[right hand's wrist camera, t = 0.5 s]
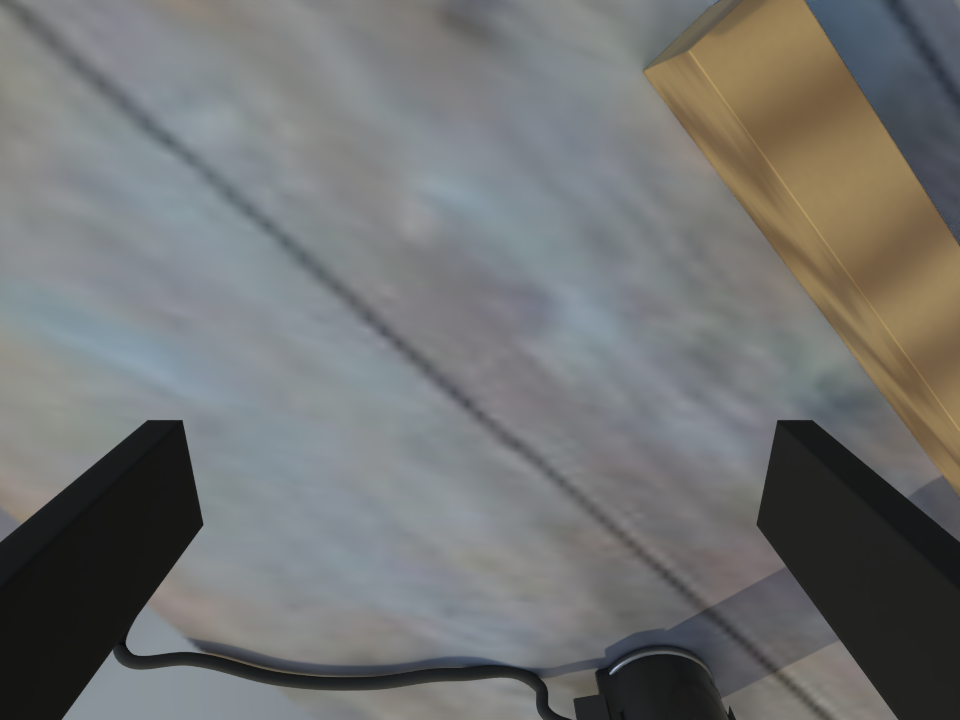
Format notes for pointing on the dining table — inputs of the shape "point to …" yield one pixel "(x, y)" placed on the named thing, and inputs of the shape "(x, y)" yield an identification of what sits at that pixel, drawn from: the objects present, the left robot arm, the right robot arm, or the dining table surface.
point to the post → (828, 198)
